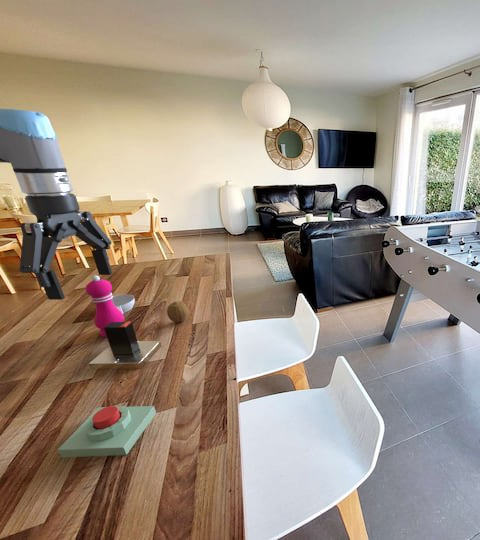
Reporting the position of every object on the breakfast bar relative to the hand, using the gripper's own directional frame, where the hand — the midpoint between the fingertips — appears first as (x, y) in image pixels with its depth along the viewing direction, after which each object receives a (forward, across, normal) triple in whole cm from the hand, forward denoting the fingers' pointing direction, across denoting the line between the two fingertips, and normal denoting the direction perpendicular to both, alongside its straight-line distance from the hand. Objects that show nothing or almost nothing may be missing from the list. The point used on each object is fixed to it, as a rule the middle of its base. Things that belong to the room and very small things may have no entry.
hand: (83, 285), depth 68 cm
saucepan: (+26, +31, +20) cm, 45 cm away
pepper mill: (+26, +19, +14) cm, 35 cm away
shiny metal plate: (+26, +6, +1) cm, 26 cm away
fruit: (+26, +25, -4) cm, 36 cm away
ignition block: (+26, -19, -13) cm, 34 cm away
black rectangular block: (+24, +6, +1) cm, 24 cm away
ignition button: (+22, -19, -13) cm, 32 cm away
